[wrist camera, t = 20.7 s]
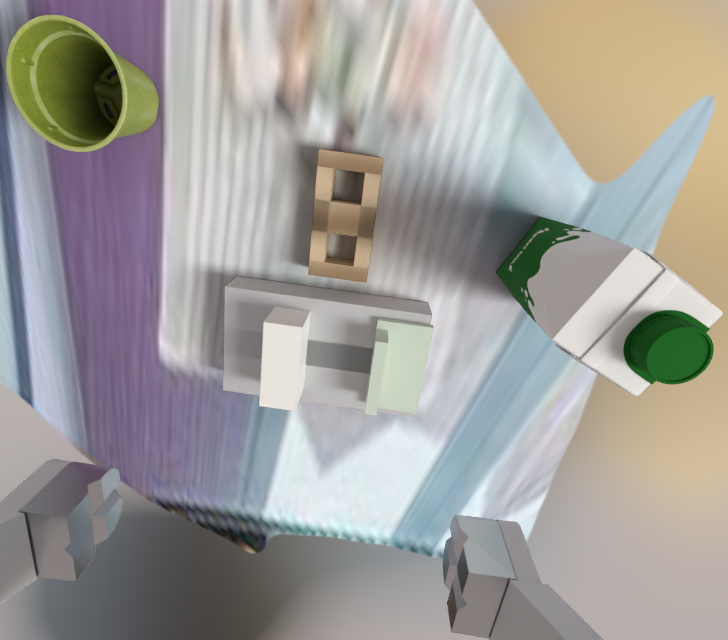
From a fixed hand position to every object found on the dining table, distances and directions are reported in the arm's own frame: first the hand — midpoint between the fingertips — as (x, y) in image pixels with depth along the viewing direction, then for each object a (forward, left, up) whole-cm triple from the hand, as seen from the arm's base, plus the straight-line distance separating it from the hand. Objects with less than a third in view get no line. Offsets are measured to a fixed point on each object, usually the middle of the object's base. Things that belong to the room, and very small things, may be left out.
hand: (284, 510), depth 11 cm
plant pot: (-10, -24, -37) cm, 46 cm away
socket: (+12, -3, -37) cm, 39 cm away
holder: (-2, -2, -37) cm, 37 cm away
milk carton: (0, +19, -37) cm, 42 cm away
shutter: (+12, +6, -33) cm, 36 cm away
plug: (+12, -6, -35) cm, 38 cm away
